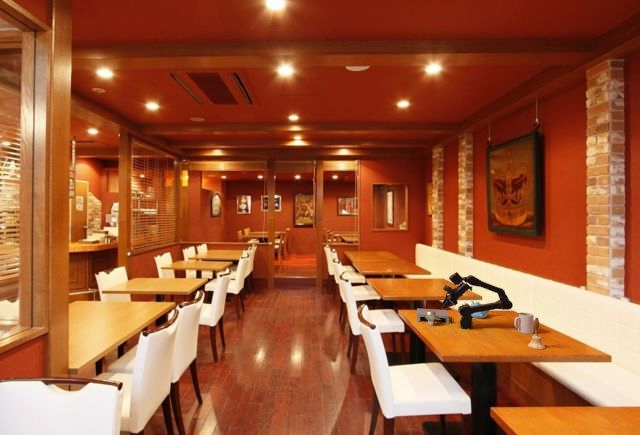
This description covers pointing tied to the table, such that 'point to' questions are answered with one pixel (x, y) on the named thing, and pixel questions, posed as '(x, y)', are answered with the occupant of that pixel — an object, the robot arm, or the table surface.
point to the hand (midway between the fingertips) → (442, 306)
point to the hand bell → (536, 337)
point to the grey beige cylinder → (430, 317)
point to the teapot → (478, 314)
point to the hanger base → (438, 314)
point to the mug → (525, 323)
